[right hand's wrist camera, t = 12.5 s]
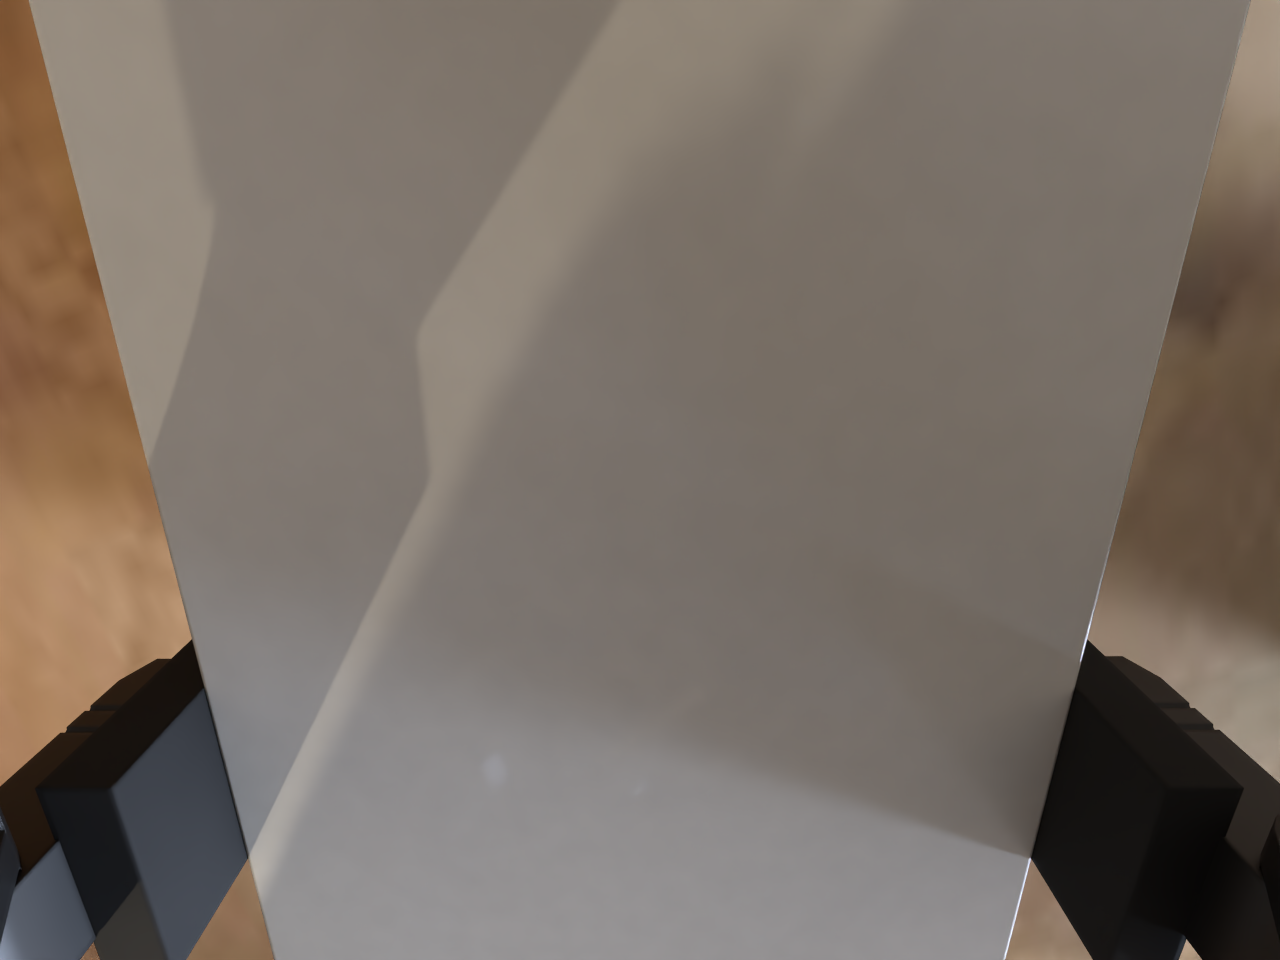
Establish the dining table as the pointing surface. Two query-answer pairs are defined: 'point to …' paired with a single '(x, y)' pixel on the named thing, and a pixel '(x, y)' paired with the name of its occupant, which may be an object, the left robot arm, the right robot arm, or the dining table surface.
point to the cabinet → (639, 439)
